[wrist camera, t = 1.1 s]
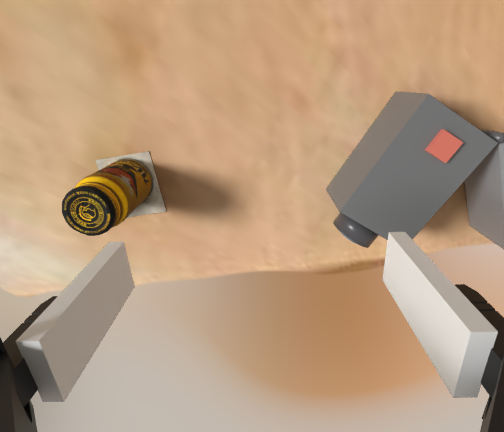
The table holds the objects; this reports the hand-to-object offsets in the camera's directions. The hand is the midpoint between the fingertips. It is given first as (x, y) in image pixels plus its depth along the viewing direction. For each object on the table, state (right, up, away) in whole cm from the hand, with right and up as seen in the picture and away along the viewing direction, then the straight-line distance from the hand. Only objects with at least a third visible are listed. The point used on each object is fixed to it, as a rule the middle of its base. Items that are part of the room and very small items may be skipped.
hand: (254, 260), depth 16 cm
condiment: (-16, +6, +27) cm, 32 cm away
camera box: (+16, +8, +25) cm, 31 cm away
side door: (+28, +7, +25) cm, 38 cm away
